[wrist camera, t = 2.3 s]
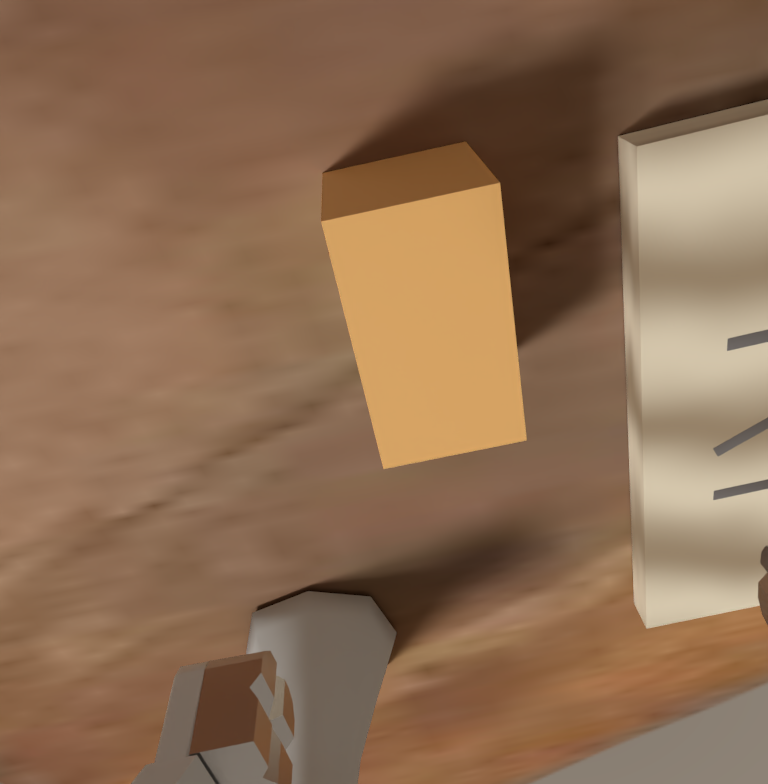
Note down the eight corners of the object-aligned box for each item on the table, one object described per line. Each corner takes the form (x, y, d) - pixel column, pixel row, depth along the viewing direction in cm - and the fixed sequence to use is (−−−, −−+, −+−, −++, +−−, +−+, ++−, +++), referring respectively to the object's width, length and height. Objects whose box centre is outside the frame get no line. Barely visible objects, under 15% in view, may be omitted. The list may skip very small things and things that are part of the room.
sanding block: (322, 171, 21) (321, 221, 17) (465, 140, 21) (499, 182, 16) (374, 386, 25) (383, 468, 21) (493, 361, 25) (526, 440, 21)
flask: (387, 575, 30) (411, 807, 22) (403, 674, 34) (429, 905, 26) (228, 597, 30) (190, 837, 22) (262, 694, 34) (241, 931, 26)
